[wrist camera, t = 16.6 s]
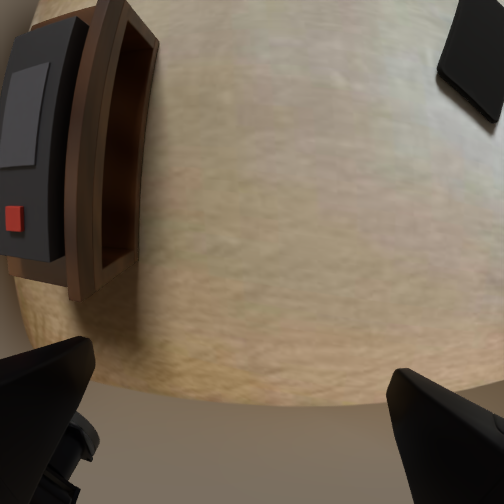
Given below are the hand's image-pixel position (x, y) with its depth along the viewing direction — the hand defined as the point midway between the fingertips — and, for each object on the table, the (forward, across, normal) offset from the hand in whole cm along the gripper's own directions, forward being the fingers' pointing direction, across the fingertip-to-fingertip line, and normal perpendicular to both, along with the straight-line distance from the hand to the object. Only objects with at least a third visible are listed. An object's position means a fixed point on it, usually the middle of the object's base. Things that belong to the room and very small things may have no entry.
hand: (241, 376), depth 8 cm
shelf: (+13, +12, -7) cm, 19 cm away
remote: (+6, +12, -7) cm, 15 cm away
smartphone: (+13, -18, -21) cm, 31 cm away
